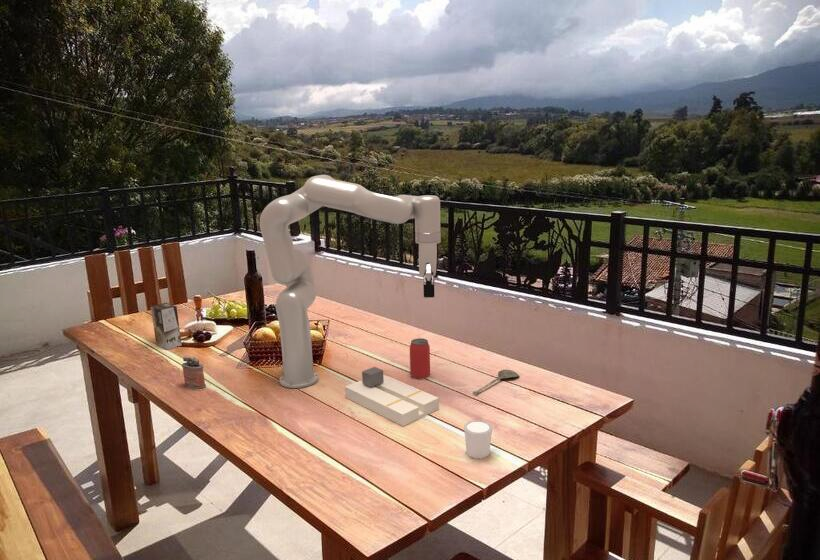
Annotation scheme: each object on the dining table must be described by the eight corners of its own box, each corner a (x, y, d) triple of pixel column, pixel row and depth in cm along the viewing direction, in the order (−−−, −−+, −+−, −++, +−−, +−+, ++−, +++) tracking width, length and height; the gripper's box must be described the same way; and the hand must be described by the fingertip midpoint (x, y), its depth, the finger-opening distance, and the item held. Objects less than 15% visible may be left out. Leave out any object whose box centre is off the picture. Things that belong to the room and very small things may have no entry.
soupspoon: (523, 378, 184) (506, 374, 188) (523, 369, 183) (506, 364, 188) (482, 399, 168) (465, 394, 173) (482, 388, 168) (465, 383, 172)
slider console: (345, 397, 172) (344, 386, 171) (380, 383, 181) (380, 372, 180) (403, 426, 153) (402, 414, 152) (438, 409, 163) (438, 397, 162)
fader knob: (362, 391, 172) (361, 371, 171) (375, 386, 176) (374, 366, 174) (371, 395, 169) (370, 375, 168) (383, 389, 173) (383, 370, 171)
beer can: (428, 380, 182) (427, 345, 179) (408, 379, 184) (407, 344, 181) (431, 372, 189) (431, 338, 186) (412, 371, 190) (411, 337, 187)
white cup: (461, 446, 143) (461, 420, 141) (488, 444, 143) (488, 419, 141) (466, 461, 136) (466, 434, 134) (494, 458, 136) (495, 432, 135)
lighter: (208, 386, 182) (204, 357, 180) (200, 390, 179) (196, 361, 177) (189, 382, 186) (186, 354, 183) (181, 386, 183) (177, 357, 180)
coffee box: (182, 345, 221) (177, 305, 217) (166, 350, 216) (160, 309, 212) (171, 340, 226) (166, 302, 223) (155, 345, 222) (149, 305, 218)
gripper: (415, 233, 177) (417, 286, 181) (414, 242, 160) (416, 301, 164) (439, 232, 176) (440, 285, 180) (441, 242, 159) (442, 300, 164)
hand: (429, 292), depth 172 cm, fingers open, 9 cm apart
